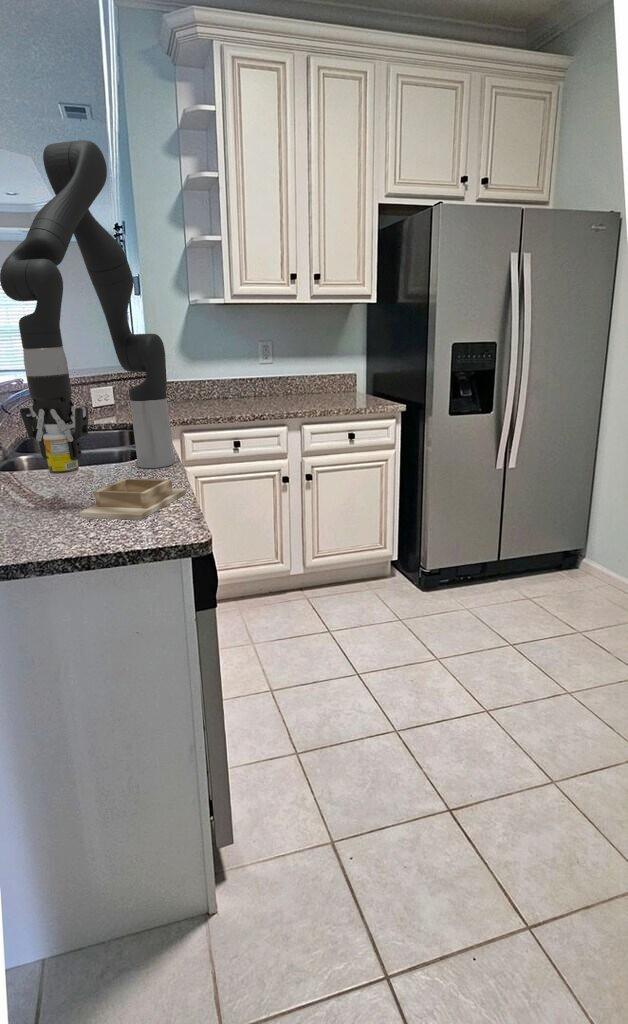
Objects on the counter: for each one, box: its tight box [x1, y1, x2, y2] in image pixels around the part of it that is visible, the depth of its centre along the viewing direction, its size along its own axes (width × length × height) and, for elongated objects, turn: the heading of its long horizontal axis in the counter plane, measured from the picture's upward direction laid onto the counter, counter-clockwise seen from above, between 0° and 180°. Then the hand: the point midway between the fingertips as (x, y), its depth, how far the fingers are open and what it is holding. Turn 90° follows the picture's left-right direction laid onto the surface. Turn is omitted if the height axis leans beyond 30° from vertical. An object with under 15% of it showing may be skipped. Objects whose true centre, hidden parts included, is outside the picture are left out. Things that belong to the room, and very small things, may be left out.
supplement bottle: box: [43, 423, 80, 478], centre depth 121 cm, size 6×6×10 cm
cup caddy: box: [79, 478, 187, 521], centre depth 124 cm, size 19×13×4 cm
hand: (62, 458), depth 122 cm, fingers closed on supplement bottle, 5 cm apart
